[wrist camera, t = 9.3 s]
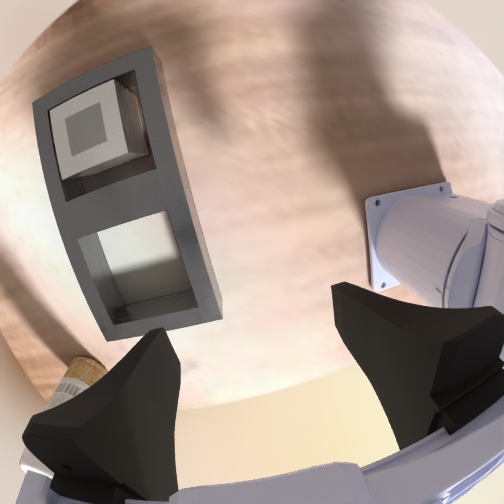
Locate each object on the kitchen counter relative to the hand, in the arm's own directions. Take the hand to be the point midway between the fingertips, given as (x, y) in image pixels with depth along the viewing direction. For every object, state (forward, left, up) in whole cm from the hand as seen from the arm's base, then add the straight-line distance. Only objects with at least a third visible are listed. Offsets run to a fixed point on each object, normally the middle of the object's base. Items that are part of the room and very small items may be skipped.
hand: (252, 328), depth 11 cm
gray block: (+6, -11, -10) cm, 16 cm away
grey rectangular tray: (+6, -6, -9) cm, 13 cm away
